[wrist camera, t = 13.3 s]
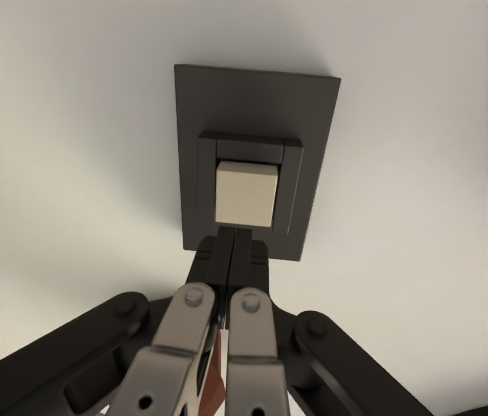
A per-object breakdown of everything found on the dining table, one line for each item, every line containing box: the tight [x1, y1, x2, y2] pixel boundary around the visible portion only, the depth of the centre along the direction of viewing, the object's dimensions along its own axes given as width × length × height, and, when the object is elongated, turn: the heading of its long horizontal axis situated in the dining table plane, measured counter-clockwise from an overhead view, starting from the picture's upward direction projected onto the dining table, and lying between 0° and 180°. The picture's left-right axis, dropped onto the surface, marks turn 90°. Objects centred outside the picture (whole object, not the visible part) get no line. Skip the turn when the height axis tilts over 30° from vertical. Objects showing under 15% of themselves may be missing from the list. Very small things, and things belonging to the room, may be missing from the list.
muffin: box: [109, 329, 226, 416], centre depth 27 cm, size 12×11×10 cm
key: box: [215, 161, 278, 227], centre depth 17 cm, size 4×4×2 cm
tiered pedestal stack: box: [174, 64, 341, 261], centre depth 19 cm, size 14×10×4 cm
